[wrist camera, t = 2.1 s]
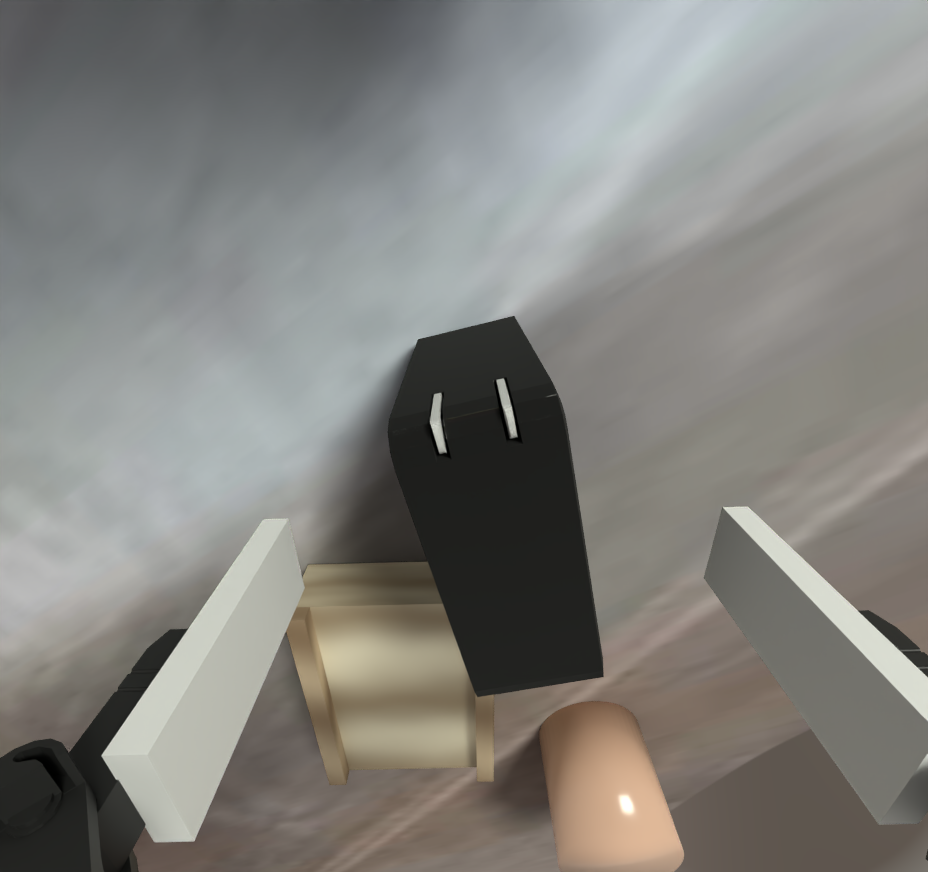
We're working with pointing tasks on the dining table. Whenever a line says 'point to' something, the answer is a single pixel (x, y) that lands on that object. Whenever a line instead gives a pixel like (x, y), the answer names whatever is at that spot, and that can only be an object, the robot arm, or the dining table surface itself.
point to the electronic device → (497, 507)
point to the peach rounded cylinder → (605, 793)
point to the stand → (386, 673)
